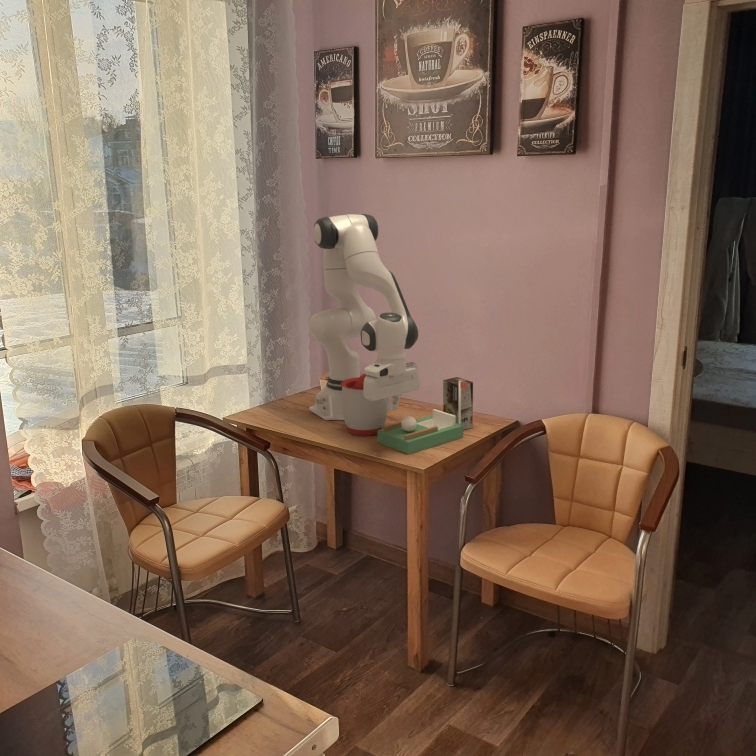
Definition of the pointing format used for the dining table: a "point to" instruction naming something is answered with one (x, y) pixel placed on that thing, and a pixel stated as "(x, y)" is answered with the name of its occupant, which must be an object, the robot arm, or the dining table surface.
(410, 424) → the ball
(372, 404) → the citrus juicer
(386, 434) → the mini golf course
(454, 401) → the coffee box
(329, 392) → the robot arm
